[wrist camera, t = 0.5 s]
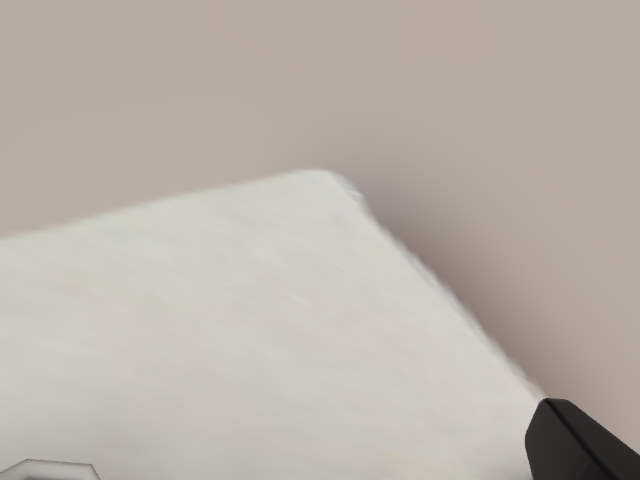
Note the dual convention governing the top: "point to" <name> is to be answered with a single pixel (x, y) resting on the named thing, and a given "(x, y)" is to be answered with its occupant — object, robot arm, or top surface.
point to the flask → (49, 471)
